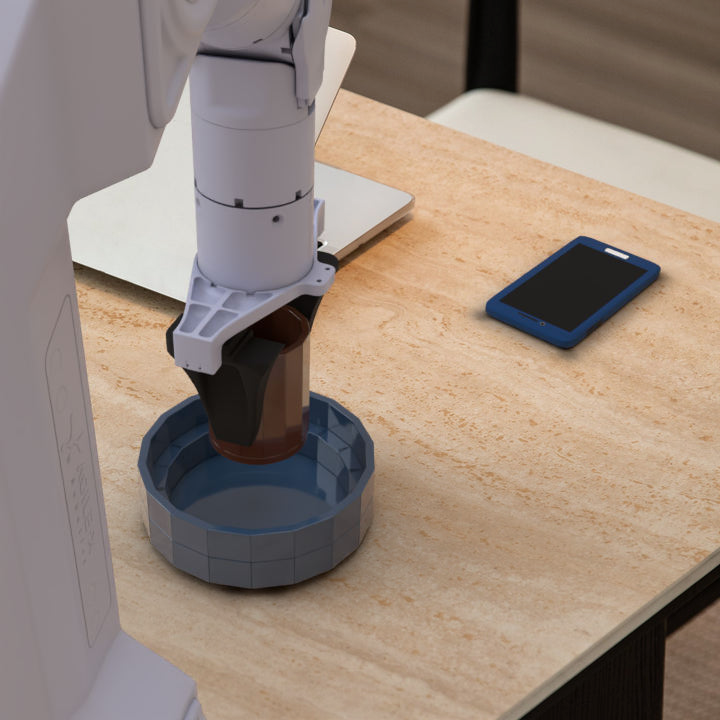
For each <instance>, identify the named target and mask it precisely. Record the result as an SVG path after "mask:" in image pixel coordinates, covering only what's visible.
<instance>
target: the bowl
mask: <svg viewBox="0 0 720 720" xmlns="http://www.w3.org/2000/svg"><path fill="white" fill-rule="evenodd" d="M375 462H376V461H375V442H374V440H373V439H372V437H371V435H370V433H369V432H368V431H367V429H366V427H365V426H364V423H363V422H362V420H361V419H360V418H359V416H357V415H356V414H354V413H353V412H352V411H350V410H349V409H347V408H346V407H345V406H344V405H342V404H341V403H340V402H339V401H337V400H335V399H333V398H331V397H329V396H326V395H323V394H321V393H318V392H315V391H313V390H310V389H309V430H308V436H307V440H306V442H305V444H304V446H303V447H302V448H301V450H300V451H298V452H297V453H296V454H295V455H293V456H292V457H290V458H288V459H286V460H283V461H280V462H277V463H273V464H267V465H248V464H242V463H238V462H234V461H232V460H229V459H227V458H225V457H224V456H222V455H221V454H219V453H218V452H217V451H216V450H215V449H214V447H213V446H212V444H211V442H210V438H209V427H208V417H207V414H206V411H205V409H204V406H203V403H202V401H201V399H200V396H199V394H198V393H197V394H192V395H190V396H188V397H187V398H184V399H183V400H182V401H180V402H178V403H177V404H175V405H174V406H172V407H171V408H169V409H167V410H165V411H164V412H162V413H161V414H160V415H159V417H158V418H157V419H156V420H155V422H154V423H153V424H152V425H151V426H150V427H149V429H148V430H147V432H146V433H145V434H144V435H143V437H142V439H141V444H140V448H139V453H138V459H137V464H136V466H137V468H136V469H137V477H138V489H139V501H140V512H141V518H142V522H143V525H144V527H145V530H146V534H147V536H148V539H149V542H150V544H151V545H152V546H153V547H154V549H156V550H157V551H158V552H159V553H160V554H161V555H162V556H163V557H164V558H165V559H166V560H167V562H169V563H170V564H171V565H172V566H173V567H174V568H175V569H178V570H180V571H183V572H185V573H187V574H189V575H191V576H194V577H195V578H198V579H200V580H202V581H204V582H207V583H209V584H217V585H223V586H231V587H236V588H243V589H252V590H253V589H263V588H272V587H279V586H288V585H294V584H298V583H301V582H303V581H306V580H309V579H312V578H313V577H316V576H318V575H321V574H323V573H326V572H329V571H331V570H332V569H334V568H335V567H336V566H338V565H339V564H341V562H343V560H345V559H346V558H347V557H348V556H350V555H351V554H352V553H353V552H354V551H355V550H357V549H358V548H359V546H360V545H361V543H362V540H363V539H364V537H365V534H366V533H367V531H368V528H369V527H370V525H371V523H372V520H373V509H374V493H375V492H374V491H375V475H376V474H375V472H376V463H375Z"/></svg>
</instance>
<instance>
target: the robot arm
mask: <svg viewBox="0 0 720 720" xmlns="http://www.w3.org/2000/svg"><path fill="white" fill-rule="evenodd" d="M332 5H333V0H0V720H208V719H207V717H206V716H205V714H204V712H203V706H202V703H201V702H200V700H199V697H198V696H199V695H198V684H197V682H196V680H195V679H194V678H193V677H192V676H191V675H189V674H187V673H186V672H185V671H183V670H182V669H181V668H179V667H178V666H176V665H175V664H173V663H172V662H170V661H169V660H168V659H166V658H165V657H163V656H161V655H160V654H158V653H157V652H156V651H153V650H152V649H150V648H149V647H148V646H146V645H145V644H144V643H141V642H140V641H139V640H137V639H136V638H134V636H131V635H130V634H129V633H127V632H126V631H125V630H124V629H123V628H122V626H121V618H120V611H119V604H118V603H119V602H118V596H117V588H116V581H115V573H114V565H113V559H112V558H113V557H112V550H111V549H112V548H111V543H110V536H109V528H108V527H109V526H108V520H107V514H106V505H105V497H104V491H103V490H104V489H103V482H102V481H103V480H102V475H101V468H100V460H99V451H98V445H97V438H96V430H95V422H94V414H93V407H92V400H91V391H90V385H89V377H88V369H87V359H86V353H85V346H84V340H83V339H84V338H83V331H82V323H81V316H80V309H79V302H78V294H77V286H76V278H75V277H76V276H75V270H74V263H73V255H72V247H71V240H70V233H69V224H68V218H69V216H70V214H71V211H72V209H73V207H74V206H75V204H76V203H77V202H79V201H80V200H82V199H85V198H87V197H89V196H91V195H94V194H95V193H98V192H100V191H102V190H104V189H107V188H109V187H111V186H114V185H116V184H118V183H120V182H123V181H125V180H127V179H129V178H131V177H135V176H136V175H138V174H141V173H143V172H146V171H147V170H149V169H150V168H151V167H152V166H153V163H154V161H155V158H156V156H157V153H158V149H159V147H160V143H161V141H162V138H163V135H164V133H165V129H166V127H167V125H168V124H170V122H171V121H172V120H173V119H174V117H175V115H176V113H177V109H178V106H179V104H180V101H181V98H182V96H183V92H184V90H185V86H186V84H187V81H188V84H189V100H190V101H189V107H190V126H191V127H190V128H191V142H192V143H191V145H192V146H191V147H192V148H191V149H192V168H193V169H192V170H193V191H194V192H193V193H194V195H193V196H194V205H195V206H194V208H195V209H194V211H195V229H196V231H195V232H196V250H197V251H196V253H195V255H194V258H193V262H192V268H191V274H190V278H189V283H188V284H189V285H188V290H187V296H186V300H185V301H186V302H185V307H184V311H183V312H181V313H180V314H179V315H178V316H177V317H176V319H174V321H173V322H172V323H171V324H170V325H169V326H168V328H167V330H166V331H165V345H166V352H167V353H168V354H169V355H170V357H171V358H172V359H173V360H174V366H176V367H179V368H181V369H182V370H183V371H184V373H185V374H186V375H187V377H188V378H189V380H190V381H191V383H192V384H193V386H194V388H195V390H196V391H197V394H199V396H200V399H201V401H202V403H203V406H204V409H205V411H206V414H207V417H208V419H209V422H210V425H211V427H212V430H213V433H214V435H215V437H216V439H218V440H222V441H225V442H229V443H233V444H237V445H241V446H245V447H251V446H252V444H253V443H254V441H255V440H256V437H257V434H258V431H259V428H260V423H261V417H262V409H263V401H264V394H265V389H266V385H267V381H268V378H269V375H270V373H271V370H272V368H273V365H274V363H275V361H276V359H277V357H278V356H279V354H280V352H281V351H282V349H283V348H284V346H285V344H282V343H277V342H273V341H269V340H265V339H260V338H256V337H253V330H252V329H249V330H247V327H249V326H250V325H252V324H254V323H255V322H257V321H258V320H260V319H262V318H263V317H265V316H267V315H268V314H270V313H272V312H273V311H275V310H277V309H278V308H280V307H282V306H283V305H285V304H286V305H289V306H291V307H294V308H296V309H297V310H298V311H299V312H300V313H301V314H302V315H304V316H305V317H306V318H307V320H308V324H309V328H310V334H311V333H312V329H313V326H314V322H315V319H316V317H317V313H318V310H319V307H320V305H321V303H322V300H323V298H324V296H325V295H326V294H327V293H328V292H329V290H330V289H331V288H332V286H333V285H334V283H335V282H336V274H337V273H338V271H339V270H340V261H339V259H338V257H337V256H336V255H334V254H332V253H330V252H327V251H323V250H318V241H319V240H318V239H319V238H320V237H321V235H322V234H323V233H324V231H325V222H326V221H325V220H326V219H325V218H326V217H325V215H326V213H325V212H326V199H323V198H318V197H315V165H316V164H315V160H316V158H315V157H316V153H315V152H316V96H317V94H318V92H319V91H320V89H321V87H322V86H323V81H324V71H325V56H326V55H325V52H326V40H327V35H328V32H329V27H330V21H331V15H332V14H331V13H332Z"/></svg>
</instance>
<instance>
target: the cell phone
mask: <svg viewBox="0 0 720 720" xmlns="http://www.w3.org/2000/svg"><path fill="white" fill-rule="evenodd" d="M661 270H662V267H661V266H660V265H659V264H658V263H656V262H653V261H651V260H648V259H646V258H644V257H641V256H639V255H636V254H634V253H631V252H628V251H626V250H623V249H621V248H618V247H616V246H613V245H611V244H609V243H606V242H604V241H601V240H598V239H595V238H593V237H590V236H586V235H578V236H576V237H575V238H574V239H572V240H571V241H569V242H568V243H567V244H564V246H562V247H560V248H559V249H558V250H556V251H555V252H554V253H552V254H551V255H549V256H548V257H546V258H545V259H544V260H542V261H541V262H539V263H538V264H537V265H535V266H534V267H532V268H531V269H529V270H528V271H527V272H525V273H524V274H523V275H521V276H520V277H518V278H517V279H516V280H514V281H512V282H511V283H510V284H508V285H507V286H505V287H504V288H502V289H501V290H500V291H499V292H497V293H496V294H494V295H493V296H492V297H490V298H488V300H487V301H486V303H485V308H484V311H485V314H487V315H488V316H490V317H492V318H494V319H496V320H498V321H500V322H503V323H505V324H507V325H510V326H511V327H514V328H516V329H519V330H521V331H523V332H525V333H527V334H529V335H532V336H534V337H536V338H538V339H540V340H543V341H545V342H547V343H549V344H551V345H554V346H557V347H560V348H564V349H568V348H572V347H574V346H576V345H577V344H579V343H580V342H581V341H582V340H583V339H585V338H586V337H587V336H588V335H590V334H591V333H592V332H593V331H595V330H596V329H597V328H598V327H599V326H601V325H602V324H603V323H604V322H606V321H607V320H608V319H609V318H611V316H613V315H614V314H615V313H616V312H618V311H619V310H620V309H621V308H622V307H624V306H626V304H628V303H629V302H630V301H631V300H633V298H635V297H636V296H637V295H639V294H640V293H641V292H643V291H644V290H645V289H646V288H648V286H650V285H651V284H652V283H653V282H654V281H656V279H658V278H659V277H660V274H661Z"/></svg>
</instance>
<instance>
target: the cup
mask: <svg viewBox="0 0 720 720" xmlns="http://www.w3.org/2000/svg"><path fill="white" fill-rule="evenodd" d="M249 329H252V330H253V337H256V338H260V339H265V340H269V341H273V342H277V343H282V344H285V346H284V348H283V349H282V351H281V352H280V354H279V356H278V357H277V359H276V361H275V363H274V365H273V368H272V370H271V373H270V375H269V378H268V381H267V385H266V389H265V394H264V401H263V409H262V417H261V423H260V428H259V431H258V434H257V437H256V440H255V441H254V443H253V444H252V446H251V447H245V446H241V445H237V444H233V443H229V442H225V441H222V440H218V439H216V437H215V435H214V433H213V430H212V427H211V425H210V422H209V419H208V427H209V438H210V442H211V444H212V446H213V447H214V449H215V450H216V451H217V452H218V453H219V454H221V455H222V456H224V457H225V458H227V459H229V460H232V461H234V462H238V463H242V464H248V465H267V464H273V463H277V462H280V461H283V460H286V459H288V458H290V457H292V456H293V455H295V454H296V453H297V452H298V451H300V450H301V448H302V447H303V446H304V444H305V442H306V440H307V436H308V430H309V390H310V379H311V377H310V375H311V368H310V367H311V333H310V328H309V324H308V320H307V318H306V317H305V316H304V315H302V314H301V313H300V312H299V311H298V310H297V309H296V308H294V307H291V306H289V305H286V304H285V305H283V306H282V307H280V308H278V309H277V310H275V311H273V312H272V313H270V314H268V315H267V316H265V317H263V318H262V319H260V320H258V321H257V322H255V323H254V324H252V325H250V326H249V327H247V330H249Z"/></svg>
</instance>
